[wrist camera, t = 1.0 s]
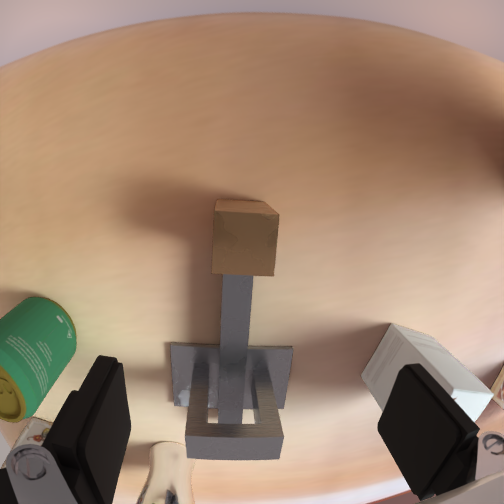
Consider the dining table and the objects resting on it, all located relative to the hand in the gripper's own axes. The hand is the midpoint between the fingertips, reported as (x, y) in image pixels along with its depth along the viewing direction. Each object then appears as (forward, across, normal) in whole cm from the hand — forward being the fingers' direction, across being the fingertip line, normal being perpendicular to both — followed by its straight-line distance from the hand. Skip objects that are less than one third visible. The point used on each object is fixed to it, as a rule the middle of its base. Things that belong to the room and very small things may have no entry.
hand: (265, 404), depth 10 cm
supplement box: (+20, -19, +11) cm, 30 cm away
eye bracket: (+20, 0, +14) cm, 24 cm away
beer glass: (+20, +6, +28) cm, 35 cm away
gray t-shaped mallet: (+20, 0, +7) cm, 21 cm away
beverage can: (+20, +20, +10) cm, 30 cm away
